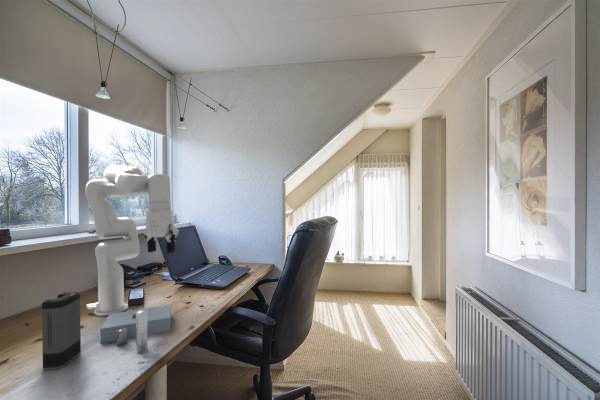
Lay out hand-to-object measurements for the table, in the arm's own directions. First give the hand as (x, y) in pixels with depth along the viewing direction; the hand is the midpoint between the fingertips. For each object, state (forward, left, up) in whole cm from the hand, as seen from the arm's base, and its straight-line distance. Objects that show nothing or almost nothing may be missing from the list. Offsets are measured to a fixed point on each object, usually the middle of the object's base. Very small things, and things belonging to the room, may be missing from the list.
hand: (161, 252), depth 104 cm
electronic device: (-27, -8, -30) cm, 42 cm away
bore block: (-8, +7, -30) cm, 32 cm away
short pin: (-12, -4, -30) cm, 33 cm away
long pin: (-5, -12, -30) cm, 33 cm away
